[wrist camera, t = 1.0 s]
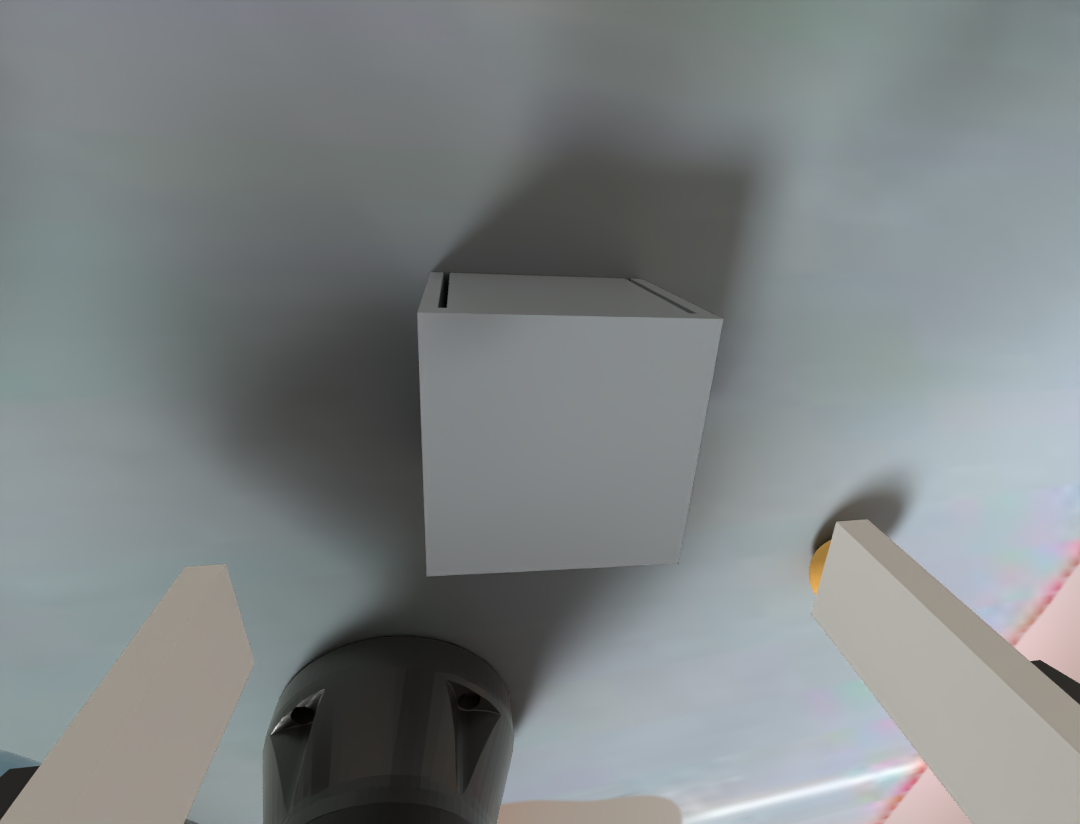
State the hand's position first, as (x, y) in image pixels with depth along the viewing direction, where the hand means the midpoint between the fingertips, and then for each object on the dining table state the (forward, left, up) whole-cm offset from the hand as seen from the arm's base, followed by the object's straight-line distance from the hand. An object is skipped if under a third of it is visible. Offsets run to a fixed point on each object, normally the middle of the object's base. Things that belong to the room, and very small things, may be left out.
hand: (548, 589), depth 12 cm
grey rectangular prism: (-1, -2, -17) cm, 17 cm away
